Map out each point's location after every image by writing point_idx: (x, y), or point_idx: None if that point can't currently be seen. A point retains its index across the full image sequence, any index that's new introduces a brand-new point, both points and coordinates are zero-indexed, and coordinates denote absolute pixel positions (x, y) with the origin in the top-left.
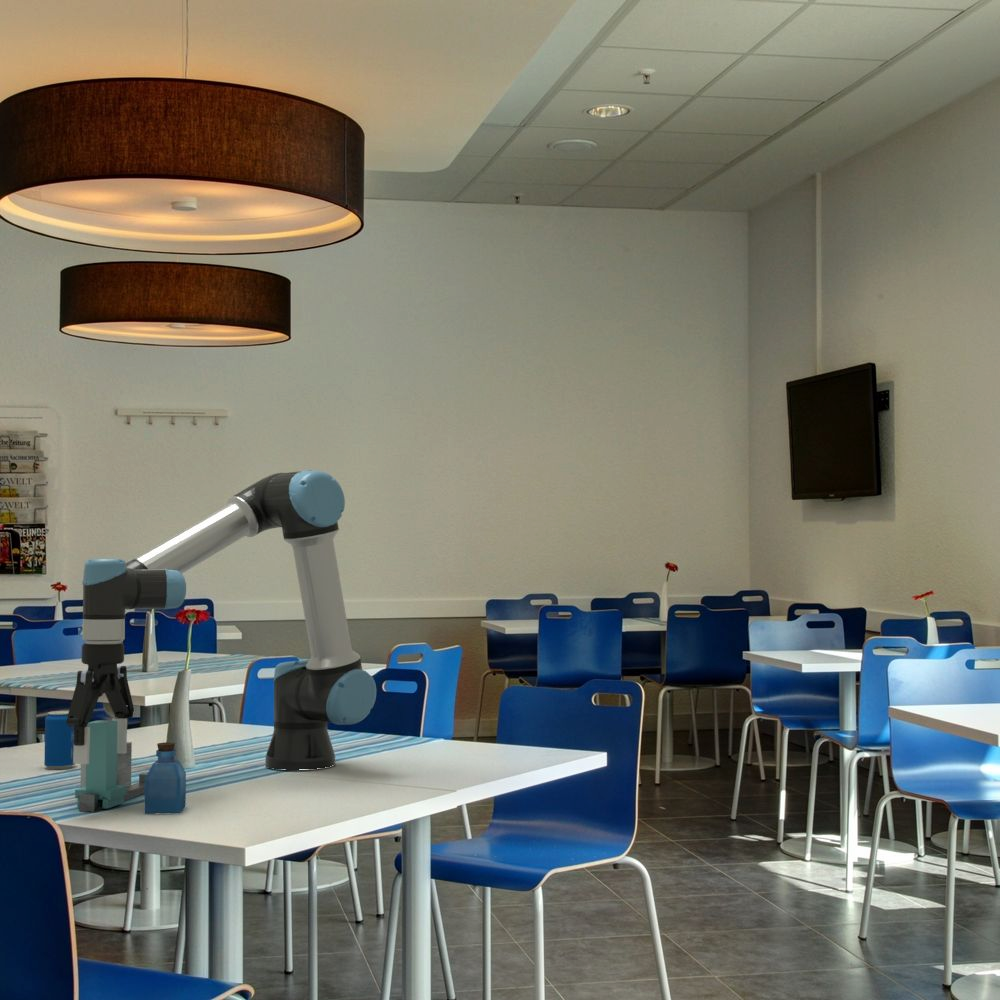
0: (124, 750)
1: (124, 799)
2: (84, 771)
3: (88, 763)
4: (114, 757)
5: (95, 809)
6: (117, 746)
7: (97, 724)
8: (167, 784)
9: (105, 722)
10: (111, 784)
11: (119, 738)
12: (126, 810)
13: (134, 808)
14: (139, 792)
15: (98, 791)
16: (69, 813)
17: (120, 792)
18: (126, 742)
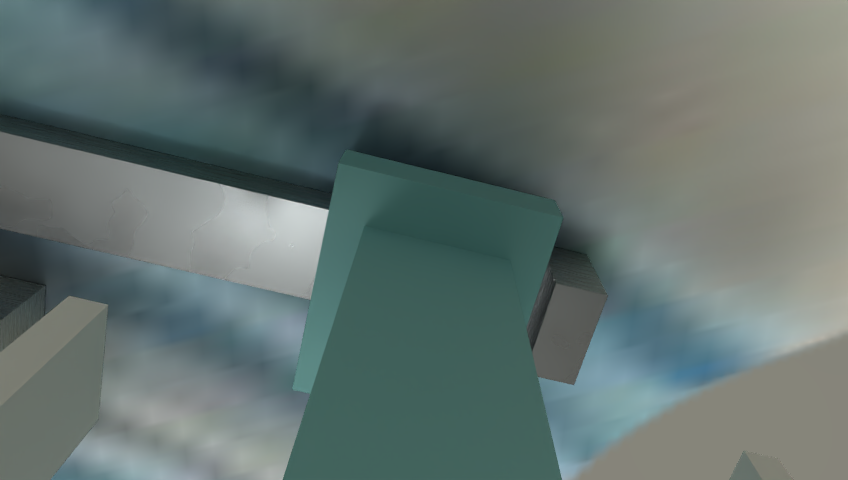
0: (92, 319)
1: (243, 175)
2: None
3: (755, 455)
4: (377, 333)
5: (577, 256)
6: (70, 406)
7: None
8: None
9: None
10: (432, 251)
11: (22, 442)
12: (551, 84)
13: (488, 50)
14: (47, 130)
15: (535, 294)
16: (607, 365)
17: (425, 175)
18: (11, 349)
